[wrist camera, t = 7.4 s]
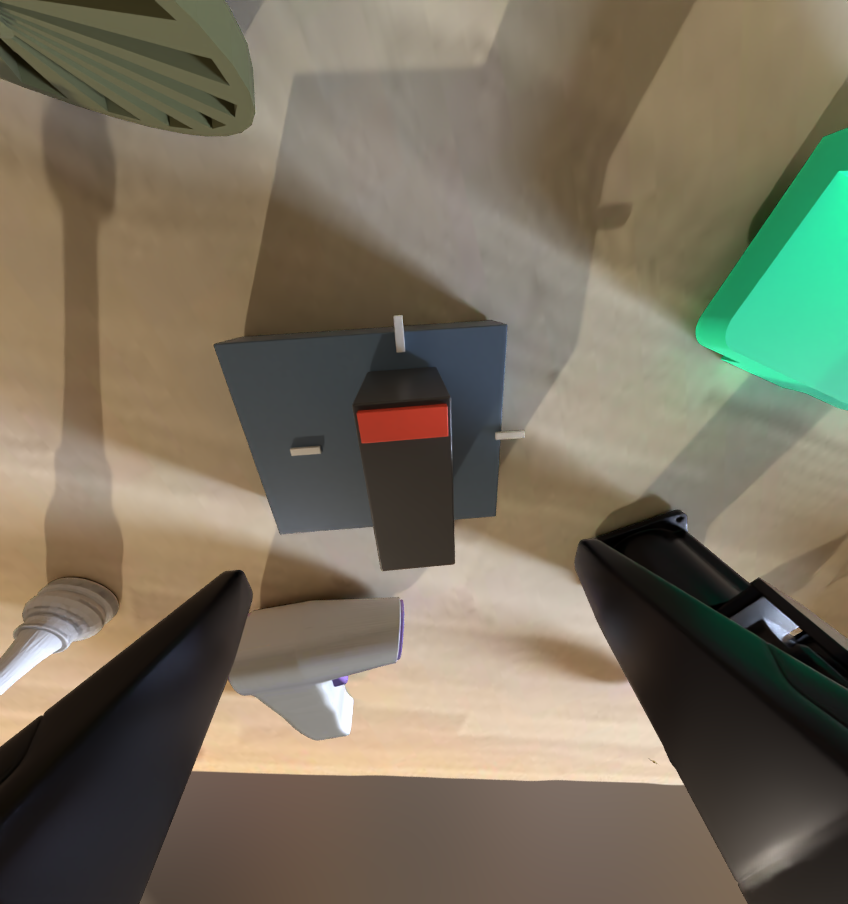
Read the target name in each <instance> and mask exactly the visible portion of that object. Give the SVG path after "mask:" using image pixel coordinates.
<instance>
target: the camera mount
mask: <svg viewBox="0 0 848 904" xmlns="http://www.w3.org/2000/svg"><path fill="white" fill-rule="evenodd" d="M696 339H697V341H698V342H699V343H700V344H701V345H702V346H704V347H706V348H709V349H711V350H713V351H715V352H717V353H719V354H722V355H723V357H722V358H721V360H723V361H725V362H728V363H730V364H732V365H734V366H736V367H739V368H741V369H743V370H745V371H747V372H749V373H752V374H754V375H756V376H758V377H760V378H763V379H765V380H767V381H769V382H771V383H774V384H776V385H778V386H780V387H783V388H787V389H791V390H795V391H800V392H804V393H806V394H808V395H811V396H813V397H815V398H817V399H819V400H821V401H824V402H826V403H828V404H830V405H832V406H834V407H837V408H840V409H844V410H848V128H845V129H843V130H840V131H837V132H835V133H832V134H830V135H827V136H824V137H823V138H822V140H821V141H820V143H819V144H818V145H817V147H816V148H815V150H814V151H813V153H812V154H811V156H810V157H809V159H808V160H807V162H806V163H805V164H804V166H803V167H802V169H801V170H800V172H799V173H798V175H797V176H796V178H795V179H794V181H793V182H792V183H791V185H790V186H789V188H788V189H787V191H786V192H785V194H784V195H783V197H782V198H781V200H780V201H779V202H778V204H777V205H776V207H775V208H774V210H773V211H772V213H771V214H770V216H769V217H768V219H767V220H766V221H765V223H764V224H763V226H762V227H761V229H760V230H759V232H758V233H757V235H756V236H755V238H754V239H753V241H752V242H751V243H750V245H749V246H748V248H747V249H746V251H745V252H744V254H743V255H742V257H741V258H740V260H739V261H738V262H737V264H736V265H735V267H734V268H733V270H732V271H731V273H730V274H729V276H728V277H727V279H726V280H725V281H724V283H723V284H722V286H721V287H720V289H719V290H718V292H717V293H716V295H715V296H714V298H713V299H712V300H711V302H710V303H709V305H708V306H707V308H706V309H705V311H704V312H703V314H702V315H701V317H700V319H699V321H698V323H697V326H696Z"/></svg>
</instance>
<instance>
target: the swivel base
mask: <svg viewBox="0 0 848 904" xmlns="http://www.w3.org/2000/svg"><path fill="white" fill-rule="evenodd" d="M393 320H394V327H382V328H367V329H352V330H337V331H322V332H307V333H292V334H277V335H262V336H247V337H239V338H235V339H231V340H227V341H223V342H219V343H215V344H214V348H215V351H216V354H217V356H218V359H219V362H220V365H221V368H222V371H223V373H224V376H225V379H226V382H227V385H228V388H229V391H230V393H231V396H232V399H233V402H234V405H235V408H236V410H237V413H238V416H239V419H240V422H241V425H242V428H243V430H244V433H245V436H246V439H247V442H248V445H249V448H250V450H251V453H252V456H253V459H254V462H255V465H256V467H257V470H258V473H259V476H260V479H261V482H262V485H263V487H264V490H265V493H266V496H267V499H268V502H269V504H270V507H271V510H272V513H273V516H274V519H275V522H276V524H277V527H278V530H279V533H280V534H292V533H304V532H315V531H327V530H339V529H351V528H362V527H373V522H372V517H371V511H370V505H369V500H368V494H367V488H366V483H365V477H364V471H363V466H362V460H361V454H360V449H359V443H358V437H357V432H356V426H355V420H354V415H353V409H352V404H353V402H354V400H355V398H356V396H357V393H358V391H359V389H360V387H361V385H362V383H363V381H364V379H365V376H366V374H367V372H373V371H386V370H399V369H412V368H425V367H437V369H438V372H439V374H440V376H441V378H442V380H443V382H444V384H445V386H446V388H447V390H448V392H449V395H450V397H451V411H452V455H453V499H454V520H456V519H468V518H479V517H491V516H496V503H497V487H498V471H499V455H500V440H502V439H515V438H524V434H525V431H524V430H517V431H504V432H501V423H502V407H503V390H504V374H505V358H506V342H507V324H504V323H500V322H496V321H493V320H487V321H472V322H457V323H442V324H427V325H412V326H403V319H402V315H396V316H393Z"/></svg>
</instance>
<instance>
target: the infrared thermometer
mask: <svg viewBox="0 0 848 904" xmlns="http://www.w3.org/2000/svg"><path fill="white" fill-rule="evenodd" d="M403 631H404V603H403V600H400V598H399V597H398V598H370V599H342V600H312V601H306V602H301V603H295V604H289V605H284V606H278V607H272V608H266V609H260V610H254V611H253V612H251V613H249V614H248V616H247V620H246V623H245V627H244V630H243V634H242V637H241V641H240V644H239V648H238V651H237V654H236V657H235V661H234V663H233V666H232V669H231V672H230V674H229V677H228V680H229V682H230V684H231V686H232V687H233V689H234V690H235V691H236V692H237V693H239V694H240V695H244V696H245V695H252V696H254V697H256V698H258V699H259V700H260V701H262V702H263V703H264V704H265V705H267V706H268V707H269V708H271V709H272V710H273V711H275V712H276V713H278V714H279V715H280V716H282V717H283V718H284V719H285V720H286V721H287V722H288V723H289V724H290V725H291V726H292V727H293V728H295V729H296V730H297V731H299V732H300V733H301V734H303V735H305V736H307V737H308V738H311V739H313V740H324V739H330V738H336V737H342V736H347V735H349V734H350V731H351V722H352V713H353V698H352V697H350V696H349V695H348V693H347V692H346V690H345V685H344V684H346V683H347V681H348V675H352V674H355V673H359V672H362V671H366V670H370V669H373V668H377V667H381V666H385V665H389V664H393V663H396V662H397V660H399V659H400V657H401V652H402V644H403Z"/></svg>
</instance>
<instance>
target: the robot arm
mask: <svg viewBox="0 0 848 904" xmlns="http://www.w3.org/2000/svg"><path fill="white" fill-rule="evenodd" d="M574 564H575V570H576V572H577V575H578V577H579V579H580V582H581V584H582V587H583V589H584V591H585V594H586V596H587V599H588V601H589V603H590V606H591V608H592V610H593V613H594V615H595V618H596V620H597V622H598V624H599V626H600V628H601V630H602V632H603V634H604V636H605V638H606V640H607V642H608V644H609V646H610V647H611V649H612V651H613V653H614V655H615V657H616V659H617V661H618V662H619V664H620V666H621V668H622V670H623V672H624V674H625V675H626V677H627V679H628V681H629V683H630V685H631V687H632V688H633V690H634V692H635V694H636V696H637V698H638V700H639V701H640V703H641V705H642V707H643V709H644V711H645V713H646V715H647V716H648V718H649V720H650V722H651V724H652V726H653V728H654V729H655V731H656V733H657V735H658V737H659V739H660V741H661V742H662V744H663V746H664V749H665V751H666V753H667V756H668V758H669V760H670V762H671V763H672V765H673V766H674V767H675V769H676V770H677V772H678V774H679V776H680V778H681V780H682V782H683V783H684V785H685V787H686V788H687V791H688V793H689V794H690V796H691V798H692V800H693V802H694V804H695V806H696V807H697V809H698V811H699V813H700V815H701V817H702V819H703V821H704V822H705V824H706V826H707V828H708V830H709V832H710V833H711V836H712V837H713V839H714V841H715V843H716V845H717V847H718V849H719V850H720V852H721V854H722V856H723V858H724V859H725V862H726V863H727V865H728V867H729V869H730V871H731V873H732V875H733V876H734V878H735V880H736V881H737V882H738V886H739V888H740V890H741V892H742V894H743V896H744V897H745V899H746V901H747V903H748V904H848V639H847V638H846V637H844V636H843V635H842V634H840V633H839V632H838V631H836V630H835V629H834V628H832V627H831V626H830V625H828V624H827V623H826V622H824V621H823V620H822V619H820V618H819V617H818V616H816V615H815V614H814V613H812V612H811V611H810V610H808V609H807V608H806V607H804V606H803V605H802V604H800V603H799V602H797V601H795V600H794V599H792V598H791V597H789V596H788V595H786V594H784V593H783V592H781V591H780V590H778V589H777V588H775V587H773V586H772V585H770V584H769V583H767V582H766V581H764V580H762V579H761V578H759V577H758V578H757V579H756V580H754V581H753V582H751V583H749V582H747V581H746V580H745V579H744V578H742V577H741V576H740V575H739V574H738V573H736V572H735V571H734V570H733V569H732V568H730V567H729V566H728V565H727V564H726V563H724V562H723V561H722V560H721V559H720V558H718V557H717V556H716V555H715V554H713V553H712V552H711V551H710V550H709V549H707V548H706V547H705V546H704V545H703V544H701V543H700V542H699V541H698V540H697V539H695V538H694V537H693V536H692V535H690V534H689V533H688V525H687V515H686V514H685V513H683V512H682V511H681V510H674V511H671V512H668V513H666V514H663V515H660V516H657V517H654V518H651V519H648V520H645V521H642V522H640V523H637V524H634V525H631V526H628V527H625V528H622V529H619V530H616V531H614V532H611V533H608V534H605V535H602V536H599V537H596V538H594V539H584V540H581V541H580V542H579V544H578V548H577V553H576V557H575V562H574ZM252 598H253V593H252V589H251V587H250V585H249V582H248V580H247V578H246V576H245V574H244V572H243V571H241V570H233V571H225V572H223V573H222V574H220V575H219V576H218V577H216V578H215V579H214V580H213V581H211V582H210V583H209V584H208V585H206V586H205V587H204V588H202V589H201V590H200V591H199V592H197V593H196V594H195V595H194V596H192V597H191V598H190V599H188V600H187V601H186V602H185V603H183V604H182V605H181V606H180V607H178V608H177V609H176V610H174V611H173V612H172V613H171V614H169V615H168V616H167V617H165V618H164V619H163V620H162V621H160V622H159V623H158V624H157V625H155V626H154V627H153V628H151V629H150V630H149V631H148V632H146V633H145V634H144V635H143V636H141V637H140V638H139V639H137V640H136V641H135V642H134V643H132V644H131V645H130V646H129V647H127V648H126V649H125V650H123V651H122V652H121V653H120V654H118V655H117V656H116V657H115V658H113V659H112V660H111V661H109V662H108V663H107V664H106V665H104V666H103V667H102V668H100V669H99V670H98V671H97V672H95V673H94V674H93V675H92V676H90V677H89V678H88V679H86V680H85V681H84V682H83V683H81V684H80V685H79V686H77V687H76V688H75V689H74V690H72V691H71V692H70V693H69V694H67V695H66V696H65V697H63V698H62V699H61V700H60V701H58V702H57V703H56V704H55V705H53V706H52V707H51V708H49V709H48V710H47V711H46V712H45V713H44V715H43V716H39V717H38V718H37V719H35V720H34V721H33V722H31V723H30V724H29V725H28V726H26V727H25V728H24V729H23V730H21V731H20V732H19V733H17V734H16V735H15V736H14V737H12V738H11V739H10V740H8V741H7V742H6V743H5V744H3V745H2V746H1V747H0V904H139V903H140V901H141V898H142V896H143V893H144V891H145V888H146V886H147V883H148V880H149V878H150V875H151V873H152V870H153V868H154V865H155V862H156V860H157V858H158V855H159V852H160V850H161V847H162V845H163V842H164V840H165V837H166V835H167V832H168V830H169V827H170V824H171V822H172V819H173V817H174V814H175V812H176V809H177V807H178V804H179V801H180V799H181V796H182V794H183V791H184V789H185V786H186V784H187V781H188V778H189V776H190V774H191V771H192V768H193V766H194V763H195V761H196V758H197V756H198V753H199V751H200V748H201V746H202V743H203V740H204V738H205V735H206V733H207V730H208V728H209V725H210V723H211V720H212V718H213V715H214V712H215V710H216V707H217V705H218V702H219V700H220V697H221V695H222V692H223V690H224V687H225V684H226V682H227V679H228V677H229V674H230V672H231V669H232V666H233V663H234V661H235V657H236V654H237V651H238V648H239V644H240V641H241V637H242V634H243V630H244V627H245V623H246V620H247V616H248V613H249V609H250V606H251V602H252ZM798 627H799V628H800V629H801V630H803V631H802V632H800V633H799V634H797V635H795V636H792V635H791V634H789V632H791V631H793V630H795V629H796V628H798Z"/></svg>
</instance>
